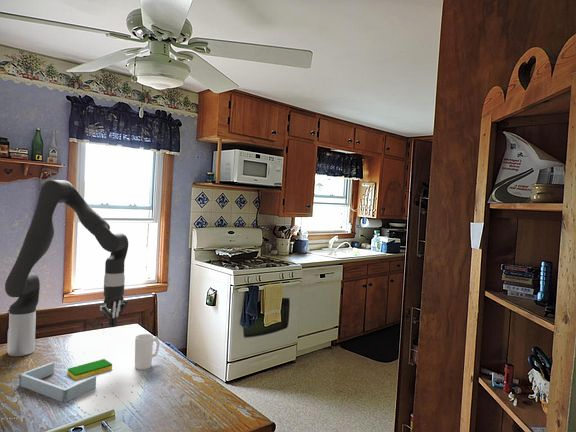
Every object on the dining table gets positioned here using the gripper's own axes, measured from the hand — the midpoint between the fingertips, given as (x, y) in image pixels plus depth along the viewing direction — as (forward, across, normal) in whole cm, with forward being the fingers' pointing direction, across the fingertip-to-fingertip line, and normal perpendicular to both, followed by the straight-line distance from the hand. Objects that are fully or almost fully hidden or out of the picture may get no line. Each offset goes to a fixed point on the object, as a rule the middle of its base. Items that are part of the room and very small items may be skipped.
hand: (112, 326), depth 159 cm
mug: (+15, -6, +13) cm, 21 cm away
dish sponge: (+16, +9, -1) cm, 18 cm away
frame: (+15, +23, 0) cm, 28 cm away
